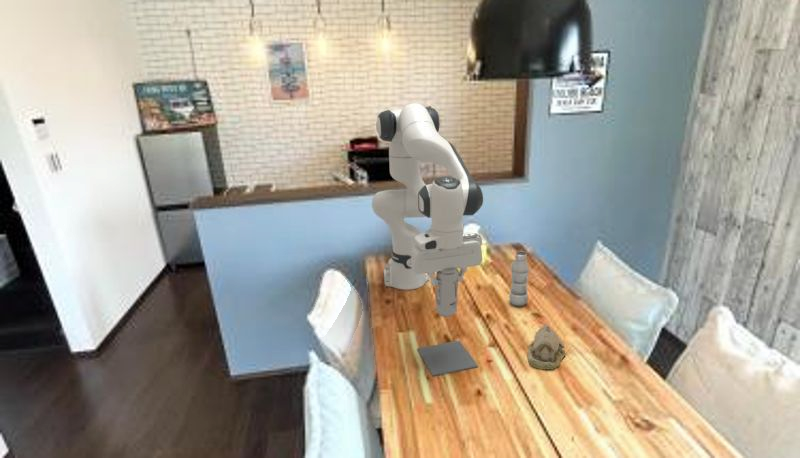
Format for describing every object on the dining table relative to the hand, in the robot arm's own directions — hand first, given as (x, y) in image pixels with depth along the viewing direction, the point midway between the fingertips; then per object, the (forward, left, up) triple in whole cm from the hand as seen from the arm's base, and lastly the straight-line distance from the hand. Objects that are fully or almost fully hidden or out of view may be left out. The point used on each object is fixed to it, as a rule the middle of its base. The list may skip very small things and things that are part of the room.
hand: (447, 282), depth 131 cm
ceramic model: (+9, +28, -25) cm, 39 cm away
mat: (0, 0, -25) cm, 25 cm away
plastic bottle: (-23, +37, -25) cm, 50 cm away
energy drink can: (0, 0, -10) cm, 10 cm away
